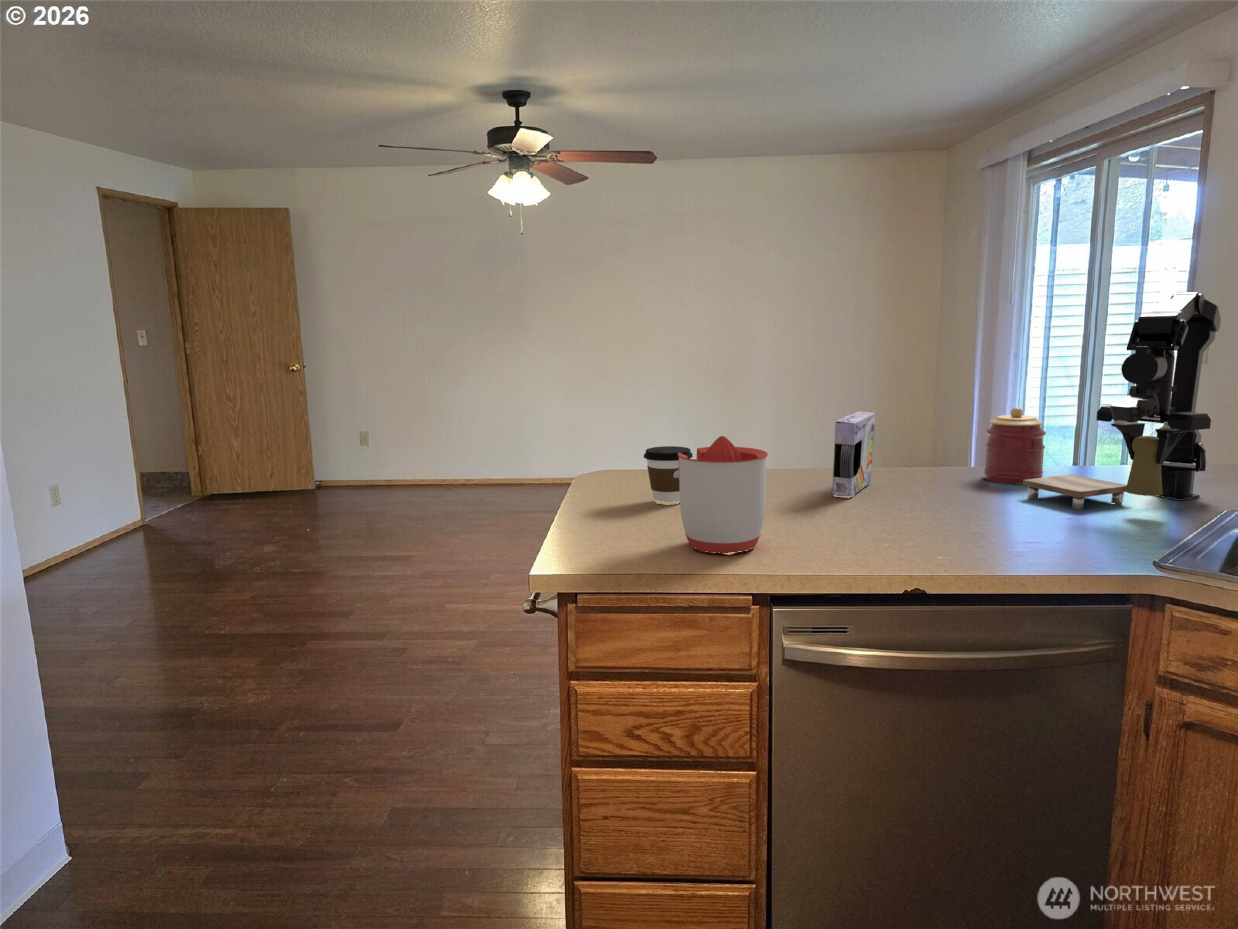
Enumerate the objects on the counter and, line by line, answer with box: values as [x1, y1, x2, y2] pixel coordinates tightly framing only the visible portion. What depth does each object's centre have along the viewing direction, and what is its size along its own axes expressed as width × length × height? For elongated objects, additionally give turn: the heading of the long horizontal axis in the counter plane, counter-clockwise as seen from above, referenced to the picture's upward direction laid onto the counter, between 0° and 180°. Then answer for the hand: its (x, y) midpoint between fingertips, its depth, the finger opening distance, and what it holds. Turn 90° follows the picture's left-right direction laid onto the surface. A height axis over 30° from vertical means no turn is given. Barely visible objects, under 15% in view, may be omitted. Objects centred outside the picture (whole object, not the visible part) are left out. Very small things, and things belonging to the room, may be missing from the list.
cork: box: [1125, 435, 1163, 497], centre depth 151 cm, size 6×6×11 cm
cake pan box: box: [831, 411, 876, 496], centre depth 180 cm, size 19×5×18 cm, turn 148°
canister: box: [983, 406, 1047, 485], centre depth 189 cm, size 13×13×18 cm
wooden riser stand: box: [1027, 486, 1125, 511], centre depth 166 cm, size 13×13×3 cm
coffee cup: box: [643, 445, 694, 502], centre depth 174 cm, size 11×11×12 cm
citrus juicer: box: [674, 435, 769, 553], centre depth 138 cm, size 16×17×20 cm
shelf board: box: [1022, 473, 1127, 498], centre depth 166 cm, size 14×14×1 cm
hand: (1146, 461), depth 151 cm, fingers closed on cork, 5 cm apart
